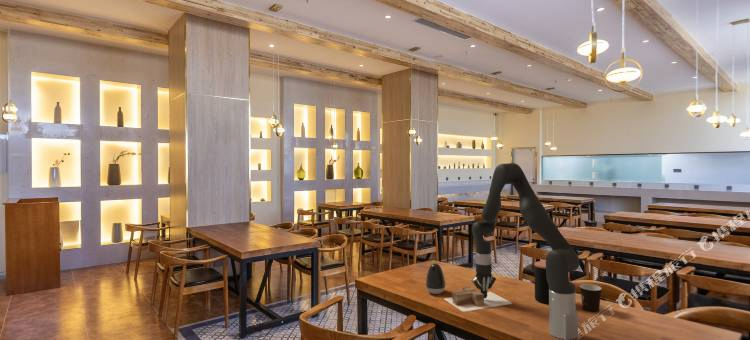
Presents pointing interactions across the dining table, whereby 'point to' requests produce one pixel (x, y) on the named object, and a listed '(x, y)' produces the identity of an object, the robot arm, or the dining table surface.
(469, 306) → the mat
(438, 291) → the black egg-shaped piece
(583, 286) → the coffee mug
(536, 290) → the coffee jar
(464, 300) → the t block
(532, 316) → the dining table surface
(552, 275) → the robot arm
